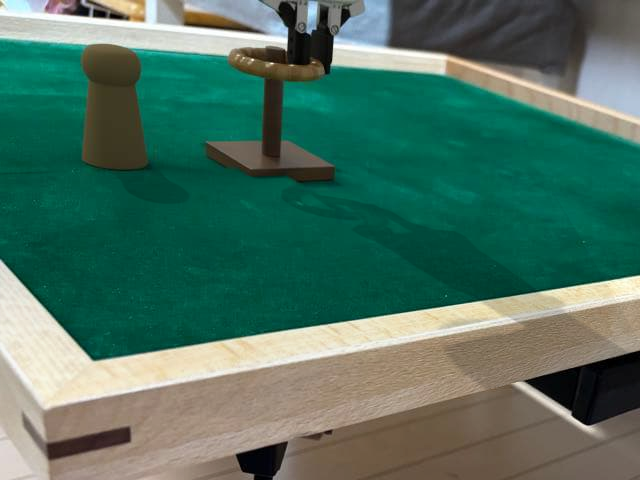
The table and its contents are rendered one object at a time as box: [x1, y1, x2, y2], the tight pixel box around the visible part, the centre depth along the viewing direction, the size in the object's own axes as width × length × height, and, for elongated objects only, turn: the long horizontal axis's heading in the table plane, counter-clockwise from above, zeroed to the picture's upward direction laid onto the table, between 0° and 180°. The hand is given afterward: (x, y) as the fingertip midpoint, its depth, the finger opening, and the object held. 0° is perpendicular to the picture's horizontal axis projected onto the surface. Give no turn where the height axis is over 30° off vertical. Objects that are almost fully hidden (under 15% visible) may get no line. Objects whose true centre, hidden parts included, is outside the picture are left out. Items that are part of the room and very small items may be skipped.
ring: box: [227, 46, 326, 83], centre depth 91 cm, size 10×10×2 cm
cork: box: [80, 43, 149, 171], centre depth 86 cm, size 6×6×11 cm
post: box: [205, 45, 336, 182], centre depth 93 cm, size 10×10×12 cm
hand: (309, 69), depth 94 cm, fingers closed on ring, 2 cm apart
